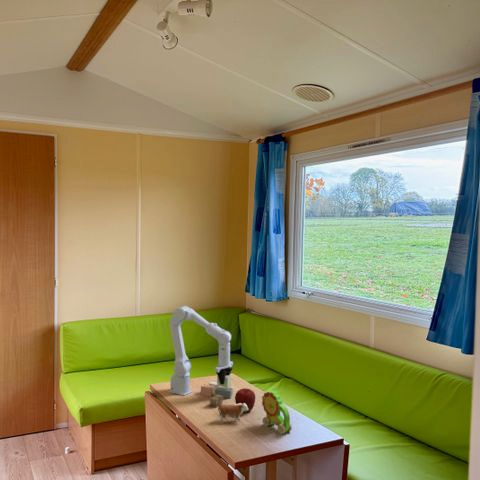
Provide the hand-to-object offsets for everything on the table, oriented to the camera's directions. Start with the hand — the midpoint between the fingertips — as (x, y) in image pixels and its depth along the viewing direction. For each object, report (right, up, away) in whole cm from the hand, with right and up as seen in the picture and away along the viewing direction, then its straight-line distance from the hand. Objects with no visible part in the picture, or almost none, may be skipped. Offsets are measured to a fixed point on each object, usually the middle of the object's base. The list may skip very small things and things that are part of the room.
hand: (223, 382), depth 249 cm
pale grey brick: (-5, -7, +9) cm, 12 cm away
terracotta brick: (-8, -7, +4) cm, 12 cm away
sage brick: (0, -2, 0) cm, 2 cm away
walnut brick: (-3, -8, -12) cm, 14 cm away
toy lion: (+23, -9, -36) cm, 44 cm away
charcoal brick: (0, -7, 0) cm, 7 cm away
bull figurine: (+5, -8, -30) cm, 31 cm away
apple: (+10, -8, -18) cm, 22 cm away
